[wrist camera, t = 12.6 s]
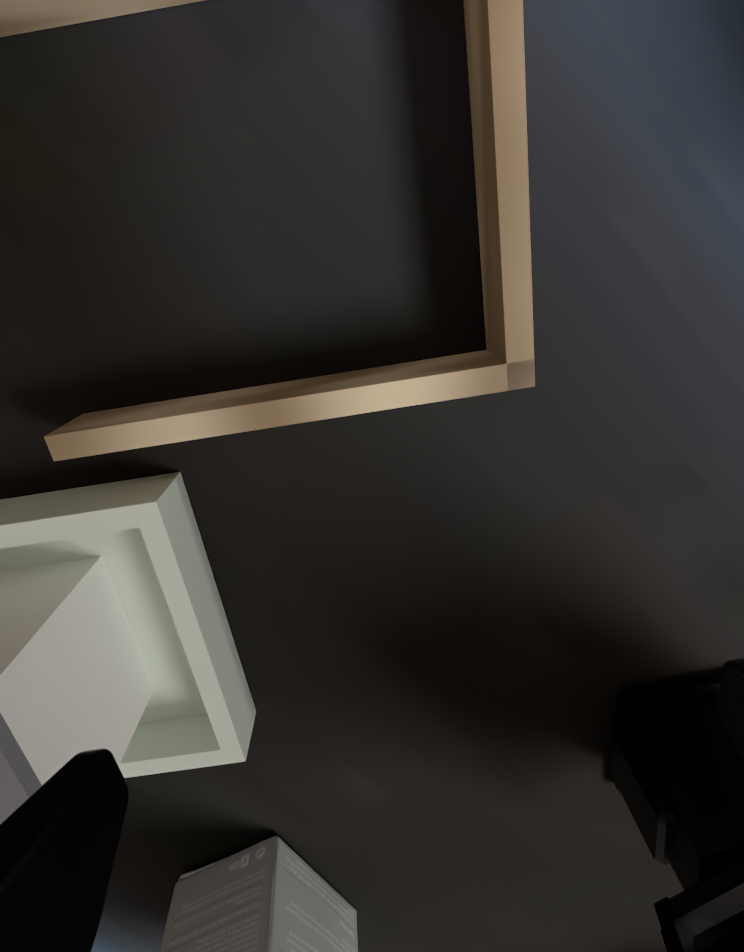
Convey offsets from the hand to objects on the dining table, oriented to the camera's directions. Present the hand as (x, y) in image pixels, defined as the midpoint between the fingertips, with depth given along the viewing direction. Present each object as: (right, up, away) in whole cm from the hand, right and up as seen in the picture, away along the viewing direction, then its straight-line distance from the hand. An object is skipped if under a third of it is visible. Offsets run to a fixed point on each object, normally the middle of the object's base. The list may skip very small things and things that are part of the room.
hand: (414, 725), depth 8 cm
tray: (-12, -2, +14) cm, 18 cm away
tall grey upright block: (-12, -3, +13) cm, 18 cm away
